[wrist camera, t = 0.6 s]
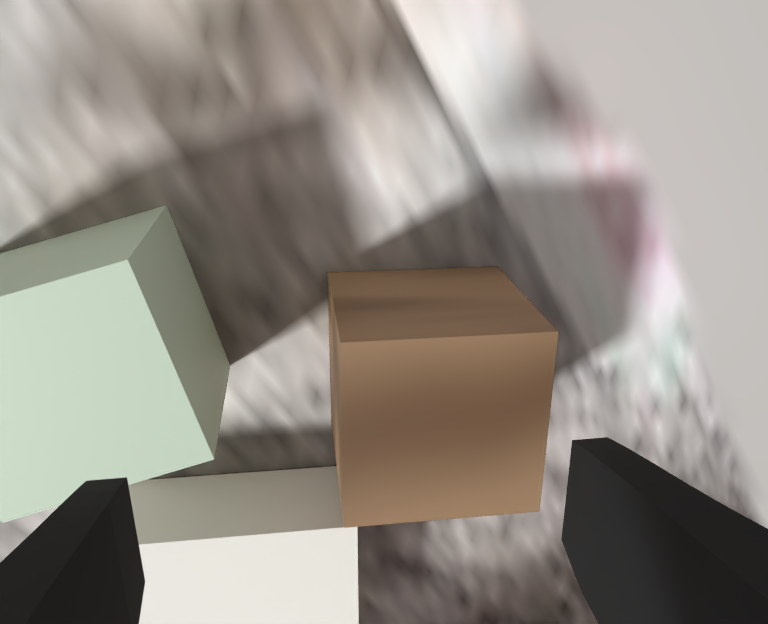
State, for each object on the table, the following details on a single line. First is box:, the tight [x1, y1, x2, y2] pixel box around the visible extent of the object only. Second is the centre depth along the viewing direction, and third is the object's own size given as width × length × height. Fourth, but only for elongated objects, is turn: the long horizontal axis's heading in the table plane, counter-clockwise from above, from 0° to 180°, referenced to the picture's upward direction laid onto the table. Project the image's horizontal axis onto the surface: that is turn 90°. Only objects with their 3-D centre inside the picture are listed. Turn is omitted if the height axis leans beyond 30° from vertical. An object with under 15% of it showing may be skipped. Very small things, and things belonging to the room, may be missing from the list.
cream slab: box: [128, 466, 359, 624], centre depth 22 cm, size 7×7×3 cm
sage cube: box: [0, 205, 230, 523], centre depth 17 cm, size 5×5×5 cm
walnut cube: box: [327, 266, 559, 528], centre depth 19 cm, size 5×5×5 cm
